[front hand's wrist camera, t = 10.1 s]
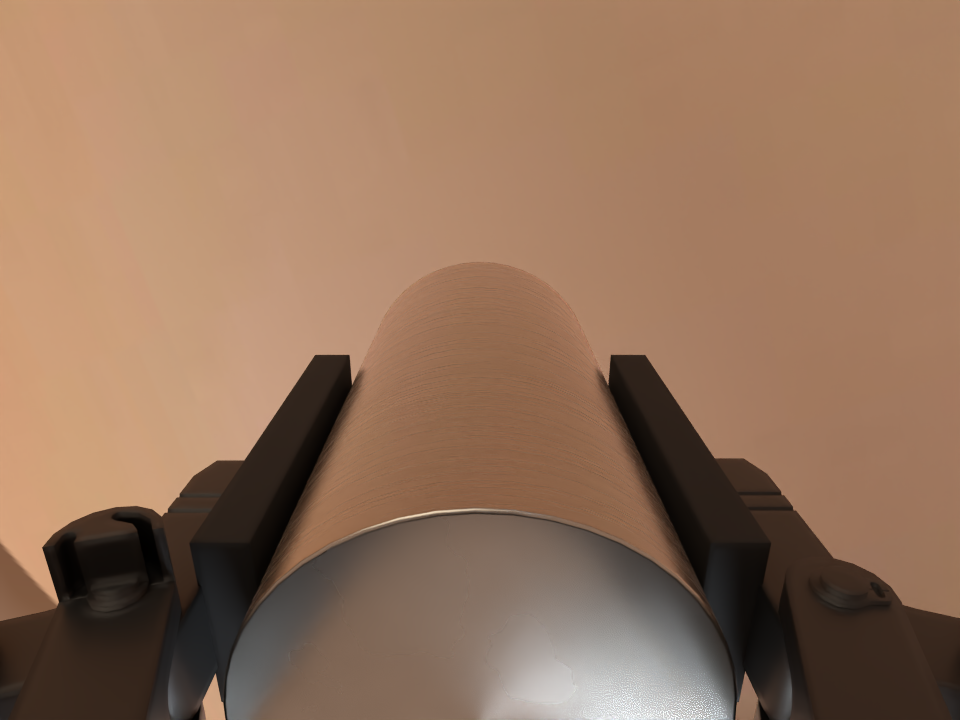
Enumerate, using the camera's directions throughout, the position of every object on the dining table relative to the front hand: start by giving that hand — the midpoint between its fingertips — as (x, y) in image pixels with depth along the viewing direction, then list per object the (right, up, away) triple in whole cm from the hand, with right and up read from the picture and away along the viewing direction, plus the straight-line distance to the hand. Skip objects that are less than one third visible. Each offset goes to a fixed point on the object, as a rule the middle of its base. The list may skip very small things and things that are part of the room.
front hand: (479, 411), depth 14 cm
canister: (0, +1, +3) cm, 3 cm away
